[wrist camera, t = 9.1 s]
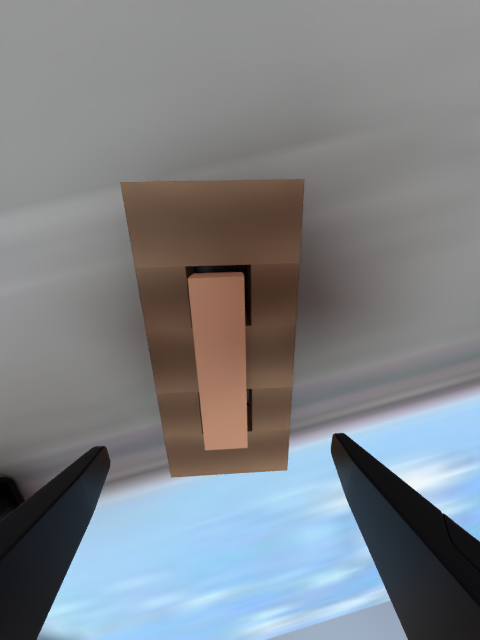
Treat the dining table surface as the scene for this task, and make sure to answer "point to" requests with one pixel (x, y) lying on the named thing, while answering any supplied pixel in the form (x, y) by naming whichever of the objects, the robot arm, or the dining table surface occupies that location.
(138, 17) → the dining table surface
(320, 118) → the dining table surface
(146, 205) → the brown slotted board
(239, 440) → the tall terracotta pillar
